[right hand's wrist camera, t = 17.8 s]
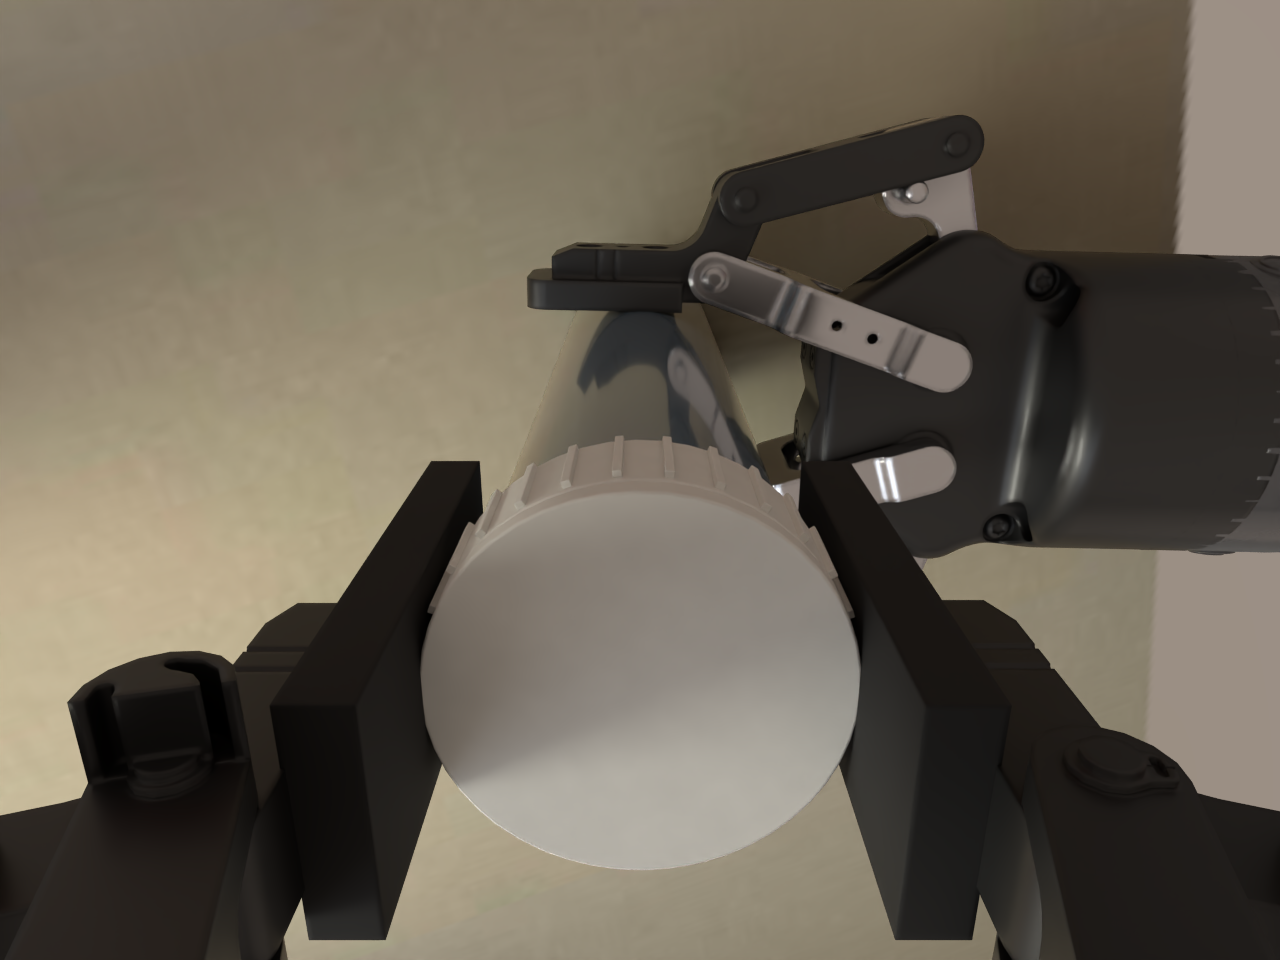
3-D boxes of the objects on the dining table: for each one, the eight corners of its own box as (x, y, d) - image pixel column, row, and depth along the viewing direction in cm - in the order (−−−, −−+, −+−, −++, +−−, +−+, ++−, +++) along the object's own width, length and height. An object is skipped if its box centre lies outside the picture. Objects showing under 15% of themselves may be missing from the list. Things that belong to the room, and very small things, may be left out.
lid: (771, 810, 13) (791, 909, 11) (417, 739, 13) (382, 831, 11) (889, 484, 11) (934, 545, 10) (482, 390, 11) (452, 436, 9)
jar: (624, 240, 28) (595, 413, 10) (738, 325, 29) (904, 628, 11) (543, 355, 29) (385, 698, 11) (655, 433, 30) (677, 867, 12)
